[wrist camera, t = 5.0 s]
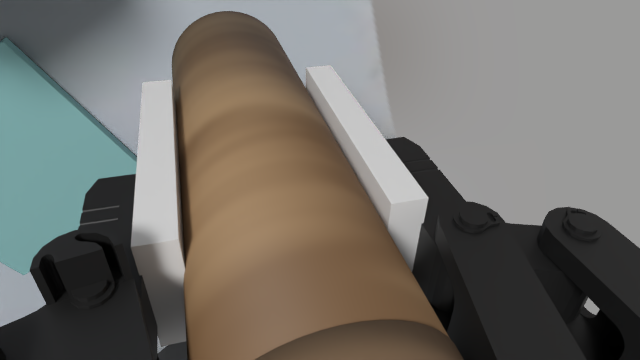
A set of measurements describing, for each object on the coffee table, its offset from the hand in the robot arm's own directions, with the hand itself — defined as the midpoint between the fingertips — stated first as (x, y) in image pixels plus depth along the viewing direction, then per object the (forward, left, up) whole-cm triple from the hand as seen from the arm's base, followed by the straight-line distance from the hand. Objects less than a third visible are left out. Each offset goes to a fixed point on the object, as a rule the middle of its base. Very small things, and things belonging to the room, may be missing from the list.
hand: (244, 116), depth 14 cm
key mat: (-2, +15, -12) cm, 19 cm away
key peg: (0, 0, -4) cm, 4 cm away
